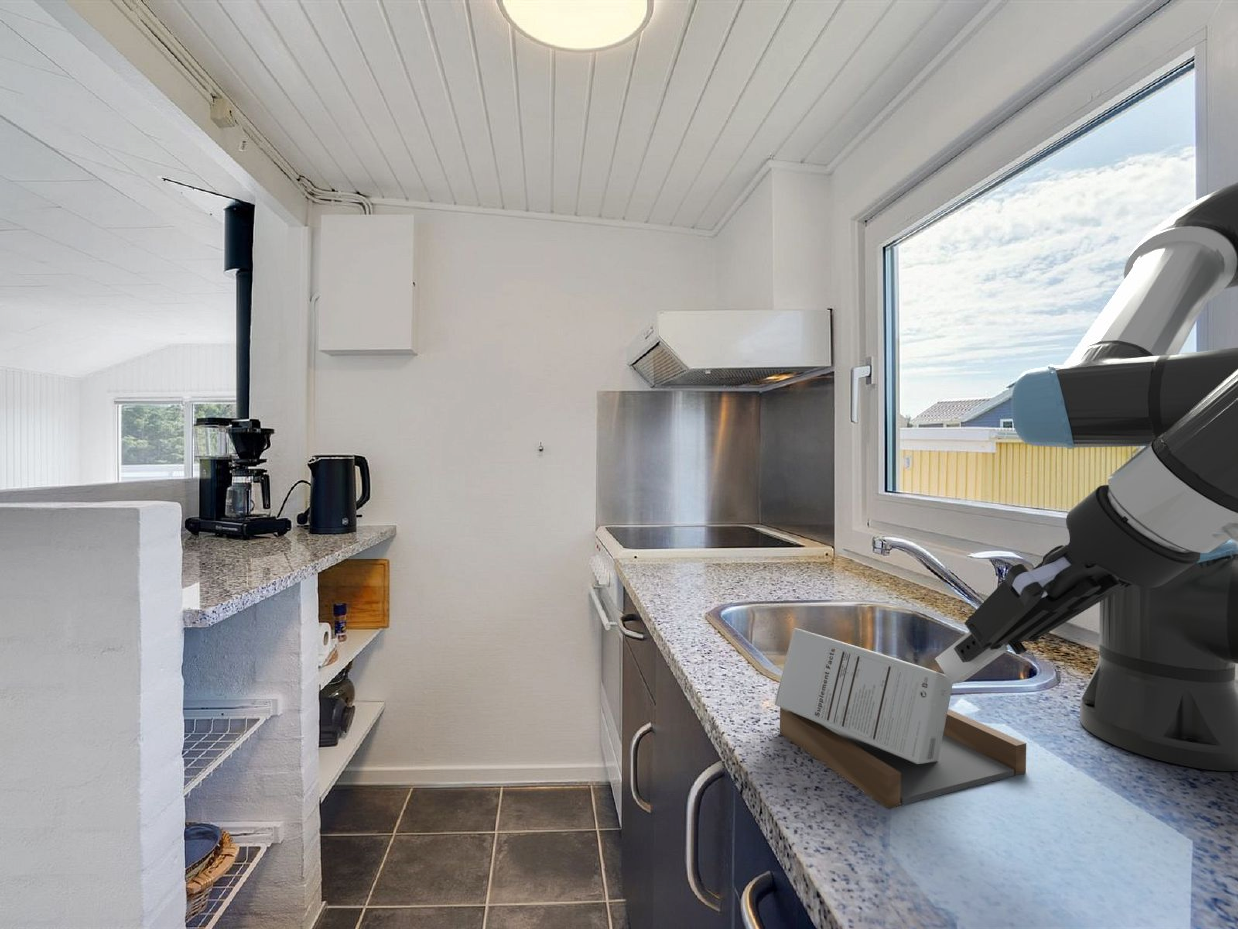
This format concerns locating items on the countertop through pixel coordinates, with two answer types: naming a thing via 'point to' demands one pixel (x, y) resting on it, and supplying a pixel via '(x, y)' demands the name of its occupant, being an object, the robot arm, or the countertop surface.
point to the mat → (938, 769)
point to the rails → (882, 777)
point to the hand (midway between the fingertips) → (948, 670)
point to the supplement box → (866, 695)
